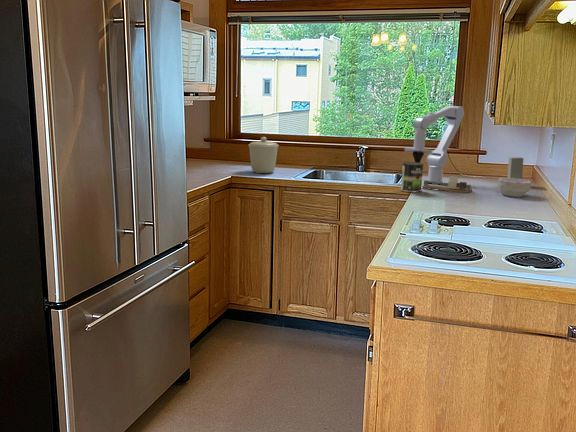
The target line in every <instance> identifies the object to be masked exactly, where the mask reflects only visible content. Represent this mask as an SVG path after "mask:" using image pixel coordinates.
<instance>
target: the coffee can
mask: <svg viewBox="0 0 576 432" xmlns="http://www.w3.org/2000/svg"><path fill="white" fill-rule="evenodd" d="M423 170H424V163H422V162H420V163H417V162H415V161H405V162H402V171H401V182H400V183H401V186H400V191H401V192H406V193H414V192H413V191H420V190H421V191H422V189H421V187H422V182H423V173H424V171H423Z"/></svg>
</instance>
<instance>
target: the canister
mask: <svg viewBox="0 0 576 432" xmlns="http://www.w3.org/2000/svg"><path fill="white" fill-rule="evenodd" d="M267 139H268V138H267V137H266V136H261V137H260V141H251V142H250V143H249V144H248V145H247V146H248V147H249V159H250V167H251V170H252V172H253V173H255V172H256V174H261V173H267V174H272V173H274V171H275V168H276V163H277V155H278V149H279V146H280V145H279V144H278V143H277V142H274V141H267Z"/></svg>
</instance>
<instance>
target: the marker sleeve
mask: <svg viewBox="0 0 576 432" xmlns="http://www.w3.org/2000/svg"><path fill="white" fill-rule="evenodd" d="M458 178H459V177H458V176H451V175H450V176H449V179H448V182H447V183H448V185H447V187H448V188H452V189H456V188H458V187H457V183H459V180H458Z"/></svg>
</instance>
